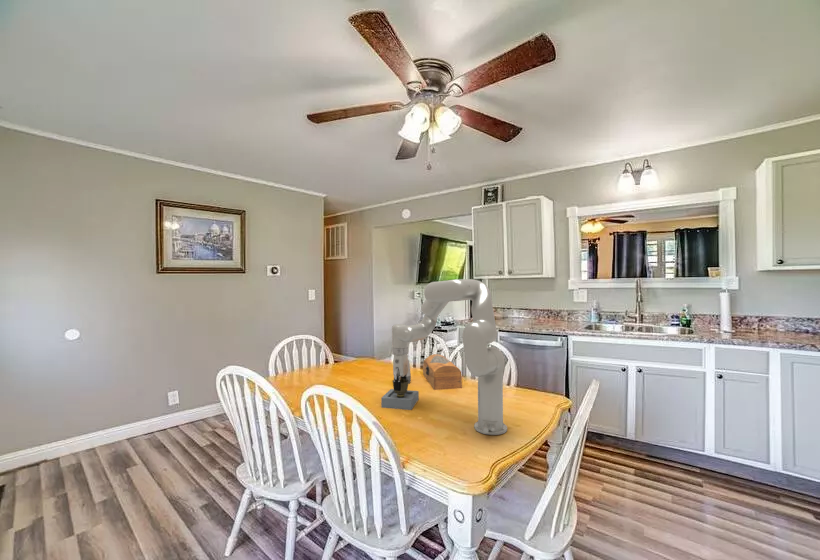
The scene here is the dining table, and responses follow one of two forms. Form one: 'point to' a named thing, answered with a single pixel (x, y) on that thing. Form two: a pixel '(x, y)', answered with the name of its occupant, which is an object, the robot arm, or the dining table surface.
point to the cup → (402, 388)
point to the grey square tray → (400, 400)
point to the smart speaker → (408, 373)
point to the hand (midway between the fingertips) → (400, 387)
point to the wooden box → (441, 373)
